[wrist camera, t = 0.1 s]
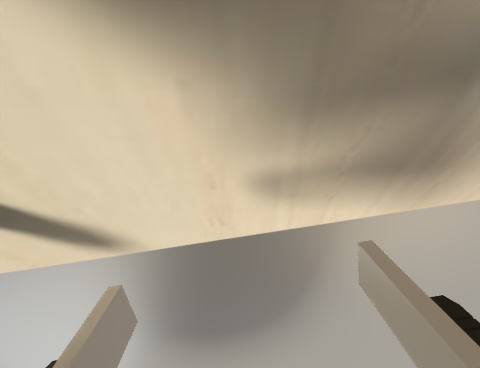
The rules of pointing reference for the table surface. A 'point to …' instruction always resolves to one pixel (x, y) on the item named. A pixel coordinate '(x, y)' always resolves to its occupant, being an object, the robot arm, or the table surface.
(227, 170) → the table surface
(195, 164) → the table surface
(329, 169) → the table surface
